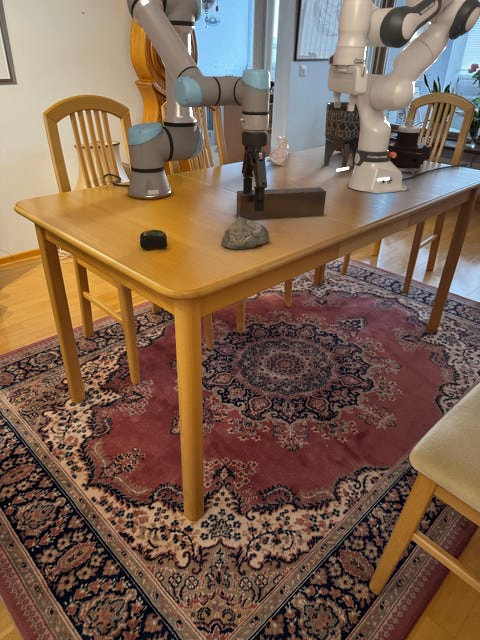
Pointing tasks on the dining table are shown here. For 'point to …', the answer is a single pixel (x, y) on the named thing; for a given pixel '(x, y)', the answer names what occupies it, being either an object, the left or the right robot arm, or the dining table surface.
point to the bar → (282, 203)
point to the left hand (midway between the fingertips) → (253, 204)
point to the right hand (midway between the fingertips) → (343, 109)
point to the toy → (341, 150)
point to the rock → (245, 234)
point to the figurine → (279, 152)
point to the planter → (341, 132)
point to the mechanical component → (409, 148)
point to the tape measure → (153, 239)
